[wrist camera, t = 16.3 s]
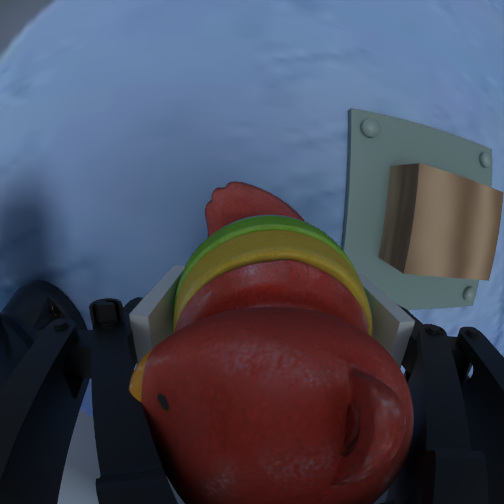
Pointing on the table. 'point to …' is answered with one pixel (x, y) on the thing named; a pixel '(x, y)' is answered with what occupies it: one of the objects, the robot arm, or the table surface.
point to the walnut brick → (440, 223)
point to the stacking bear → (273, 368)
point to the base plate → (376, 192)
